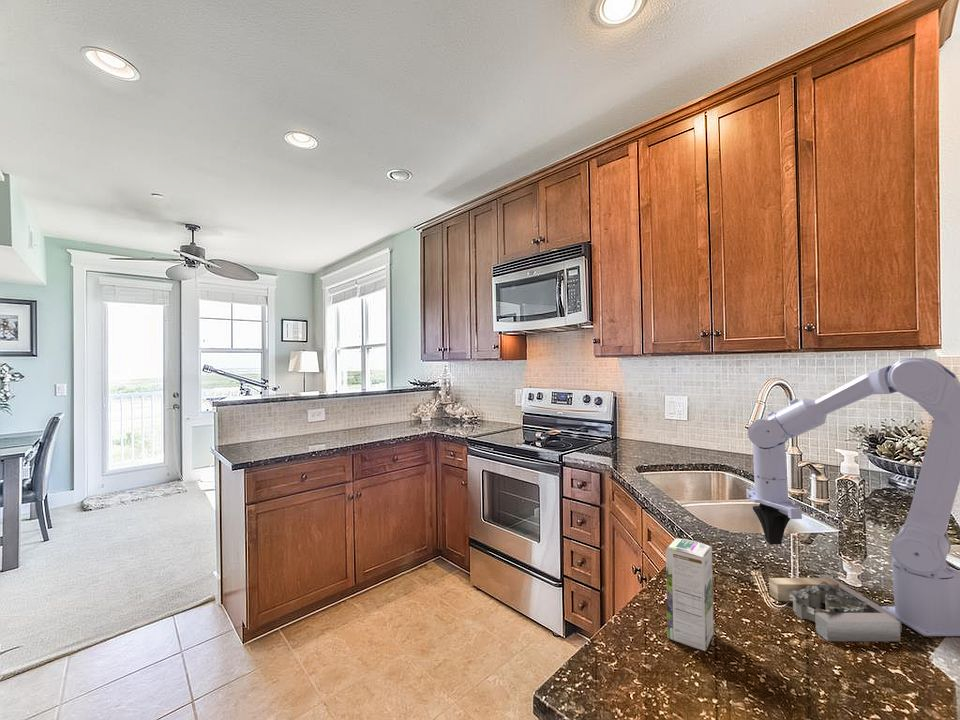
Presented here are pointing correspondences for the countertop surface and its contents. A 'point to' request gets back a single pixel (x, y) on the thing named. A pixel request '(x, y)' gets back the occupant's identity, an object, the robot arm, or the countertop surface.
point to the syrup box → (689, 593)
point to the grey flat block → (858, 622)
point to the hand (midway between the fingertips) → (773, 543)
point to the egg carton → (824, 601)
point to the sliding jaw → (794, 586)
